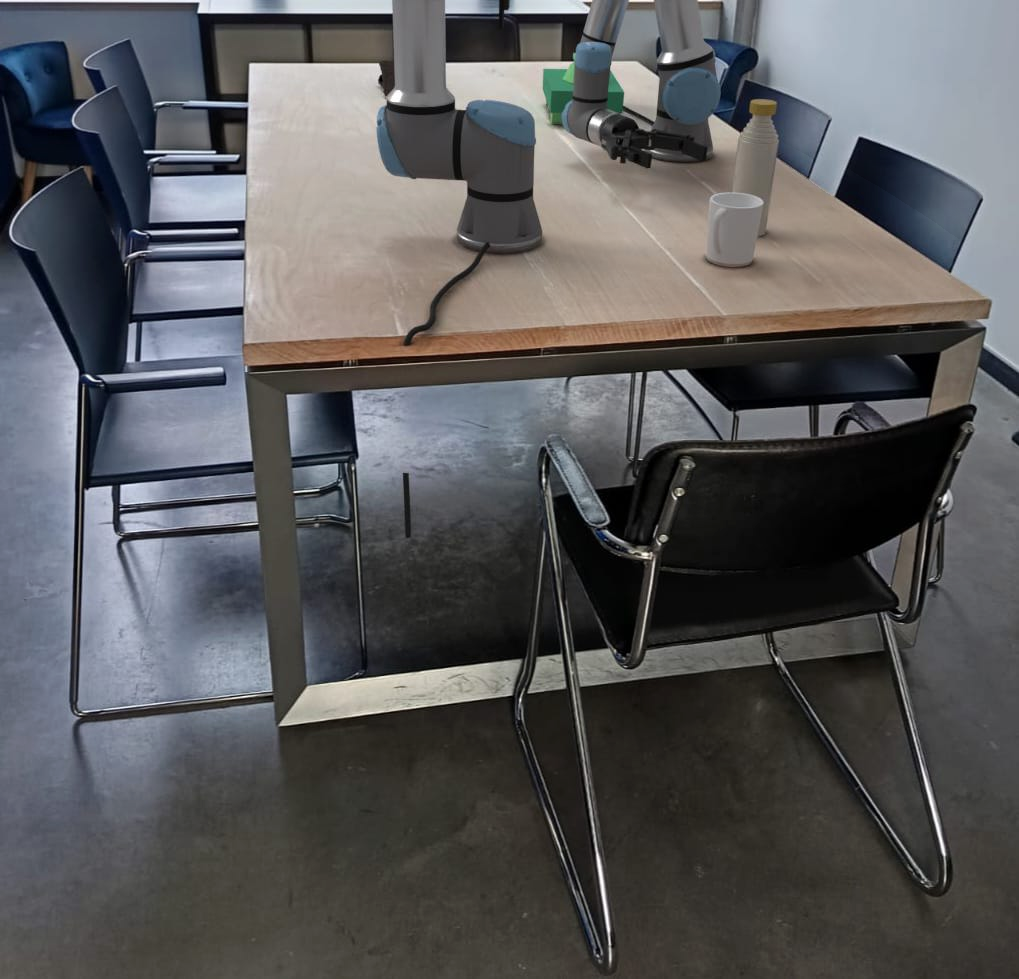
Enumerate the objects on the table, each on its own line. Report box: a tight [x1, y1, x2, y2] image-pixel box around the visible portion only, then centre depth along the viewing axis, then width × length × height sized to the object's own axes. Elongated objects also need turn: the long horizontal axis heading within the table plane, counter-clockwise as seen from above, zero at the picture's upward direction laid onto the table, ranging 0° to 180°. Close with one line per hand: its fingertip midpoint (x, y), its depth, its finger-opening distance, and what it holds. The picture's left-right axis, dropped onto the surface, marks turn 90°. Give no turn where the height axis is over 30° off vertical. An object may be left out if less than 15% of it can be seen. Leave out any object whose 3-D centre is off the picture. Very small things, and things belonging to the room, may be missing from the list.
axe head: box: [377, 59, 395, 97], centre depth 299 cm, size 18×8×15 cm
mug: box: [705, 192, 764, 268], centre depth 186 cm, size 11×9×10 cm
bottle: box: [731, 114, 780, 238], centre depth 197 cm, size 7×7×23 cm
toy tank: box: [542, 52, 625, 125], centre depth 280 cm, size 18×12×35 cm
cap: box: [748, 98, 778, 117], centre depth 192 cm, size 5×5×2 cm
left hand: (468, 26), depth 224 cm, fingers open, 13 cm apart
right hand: (678, 157), depth 212 cm, fingers open, 13 cm apart
